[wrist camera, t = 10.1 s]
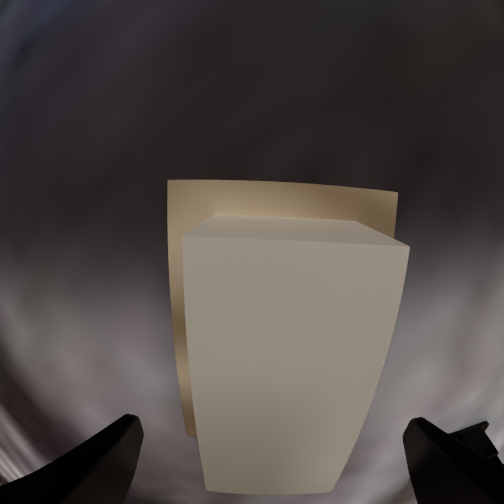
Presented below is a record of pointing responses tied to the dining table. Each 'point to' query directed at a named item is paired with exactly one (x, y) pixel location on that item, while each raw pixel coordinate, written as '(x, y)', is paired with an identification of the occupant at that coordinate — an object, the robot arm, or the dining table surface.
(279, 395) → the block
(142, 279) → the dining table surface
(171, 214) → the base
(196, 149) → the dining table surface
